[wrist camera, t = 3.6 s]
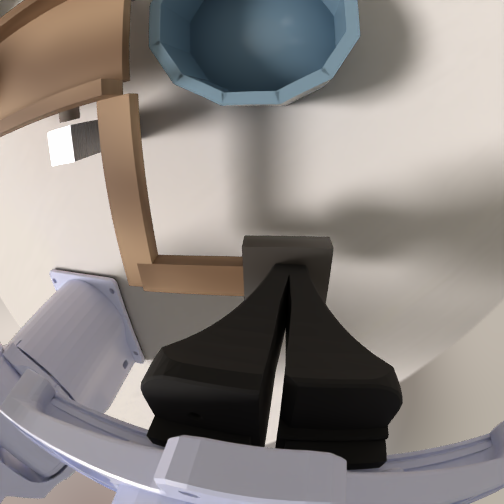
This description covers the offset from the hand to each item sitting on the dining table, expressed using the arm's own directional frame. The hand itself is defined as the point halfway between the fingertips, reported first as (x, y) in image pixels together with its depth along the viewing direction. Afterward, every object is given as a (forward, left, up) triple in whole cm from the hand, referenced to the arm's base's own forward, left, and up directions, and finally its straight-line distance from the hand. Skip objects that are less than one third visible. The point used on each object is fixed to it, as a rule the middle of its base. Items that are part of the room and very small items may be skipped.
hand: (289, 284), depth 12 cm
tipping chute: (+6, +10, -1) cm, 12 cm away
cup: (+11, +2, -5) cm, 12 cm away
